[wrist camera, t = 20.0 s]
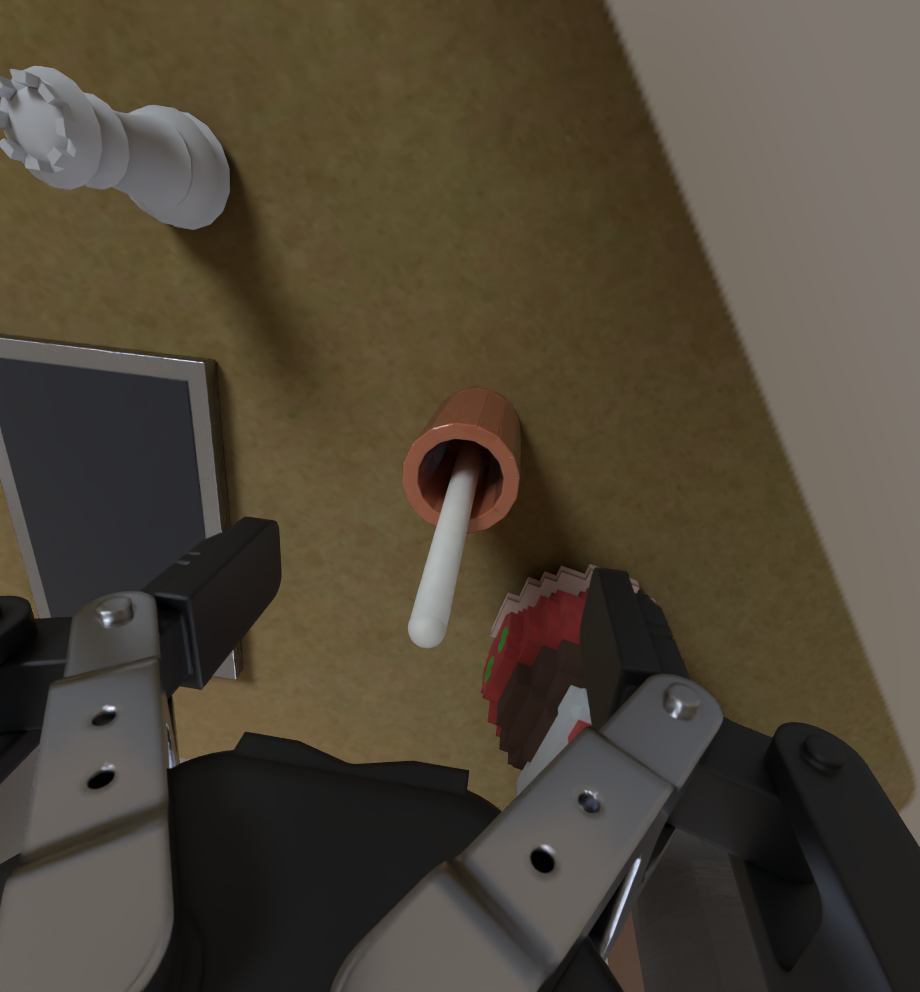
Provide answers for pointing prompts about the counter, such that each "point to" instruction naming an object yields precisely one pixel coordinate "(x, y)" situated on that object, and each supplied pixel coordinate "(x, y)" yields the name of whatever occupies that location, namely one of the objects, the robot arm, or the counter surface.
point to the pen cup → (438, 448)
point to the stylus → (446, 551)
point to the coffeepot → (695, 924)
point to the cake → (547, 697)
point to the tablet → (108, 467)
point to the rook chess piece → (114, 147)
